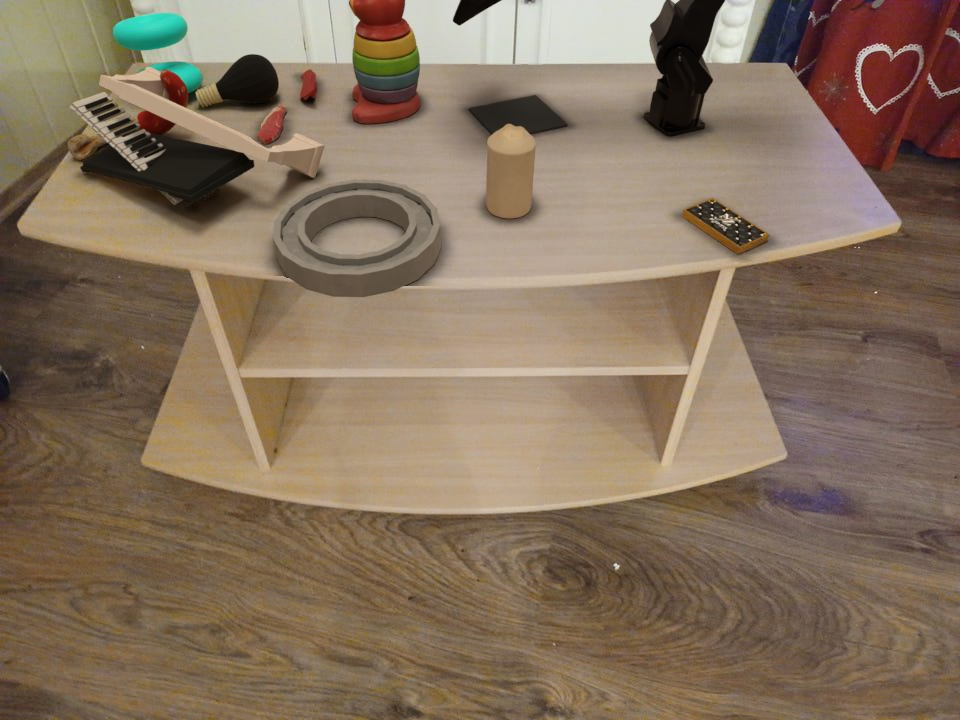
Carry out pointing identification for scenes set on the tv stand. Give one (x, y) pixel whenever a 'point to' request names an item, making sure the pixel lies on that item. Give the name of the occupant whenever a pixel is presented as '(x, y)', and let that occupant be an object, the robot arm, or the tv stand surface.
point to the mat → (518, 115)
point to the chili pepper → (309, 85)
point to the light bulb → (243, 83)
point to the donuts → (158, 42)
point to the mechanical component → (357, 270)
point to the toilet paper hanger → (210, 122)
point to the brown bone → (89, 143)
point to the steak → (272, 125)
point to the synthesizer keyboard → (157, 156)
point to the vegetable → (176, 94)
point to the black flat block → (725, 225)
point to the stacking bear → (384, 62)
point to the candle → (510, 172)
